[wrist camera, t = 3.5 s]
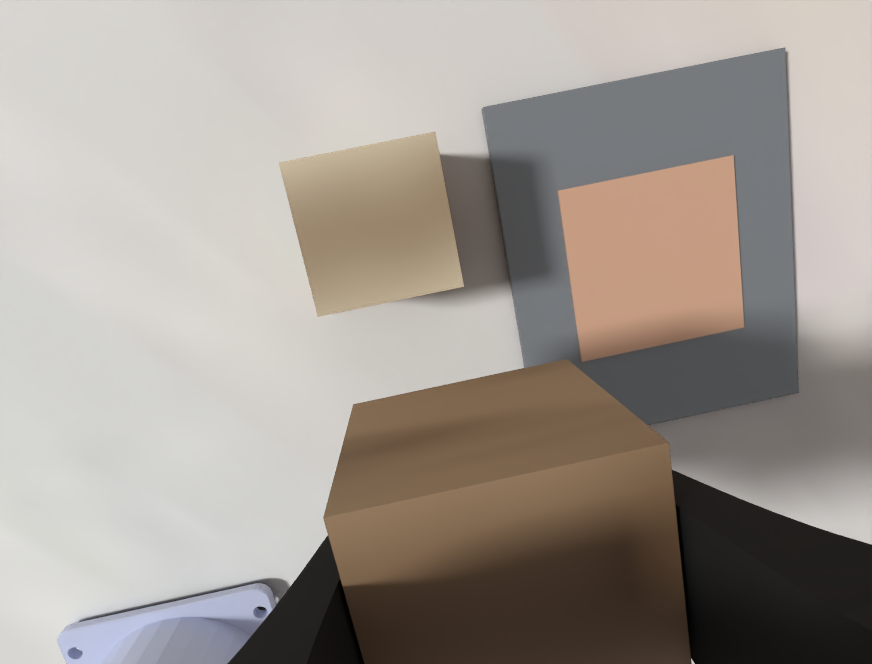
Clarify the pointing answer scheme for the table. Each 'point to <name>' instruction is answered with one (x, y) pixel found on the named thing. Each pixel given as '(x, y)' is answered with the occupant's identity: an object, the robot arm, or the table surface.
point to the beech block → (373, 223)
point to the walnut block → (508, 526)
